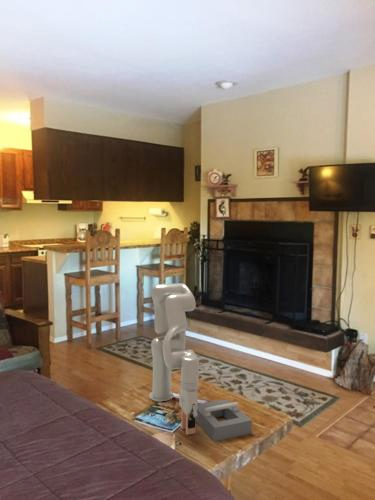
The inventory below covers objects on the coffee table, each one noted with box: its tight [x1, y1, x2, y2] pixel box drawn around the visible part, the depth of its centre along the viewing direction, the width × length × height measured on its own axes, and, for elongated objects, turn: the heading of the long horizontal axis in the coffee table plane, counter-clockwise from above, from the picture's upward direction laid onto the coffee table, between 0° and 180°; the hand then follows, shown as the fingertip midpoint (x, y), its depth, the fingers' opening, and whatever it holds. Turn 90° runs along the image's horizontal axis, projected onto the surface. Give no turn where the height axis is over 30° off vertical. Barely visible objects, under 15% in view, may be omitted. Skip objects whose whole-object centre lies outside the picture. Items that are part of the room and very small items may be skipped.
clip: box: [180, 408, 197, 436], centre depth 185 cm, size 6×4×10 cm, turn 23°
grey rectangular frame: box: [196, 398, 253, 442], centre depth 191 cm, size 22×18×10 cm
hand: (188, 423), depth 186 cm, fingers closed on clip, 6 cm apart
